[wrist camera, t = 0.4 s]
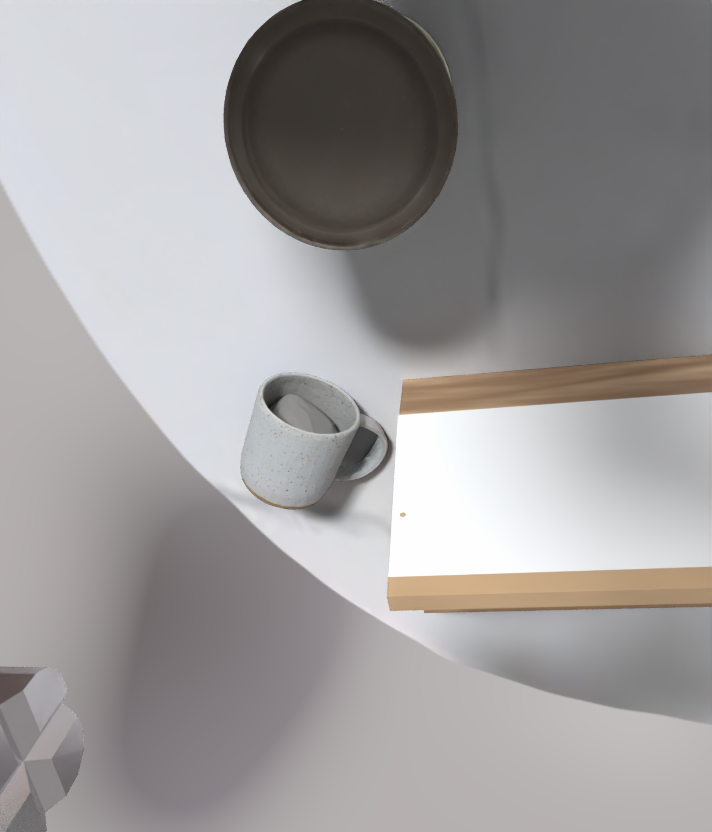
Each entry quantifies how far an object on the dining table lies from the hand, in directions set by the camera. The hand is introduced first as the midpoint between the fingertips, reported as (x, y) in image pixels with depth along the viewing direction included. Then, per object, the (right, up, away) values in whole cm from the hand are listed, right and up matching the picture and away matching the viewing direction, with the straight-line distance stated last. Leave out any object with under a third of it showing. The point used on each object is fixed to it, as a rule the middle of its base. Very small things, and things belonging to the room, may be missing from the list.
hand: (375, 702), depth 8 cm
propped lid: (+15, -1, +39) cm, 41 cm away
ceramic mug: (-3, +3, +45) cm, 45 cm away
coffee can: (+1, +23, +33) cm, 40 cm away
